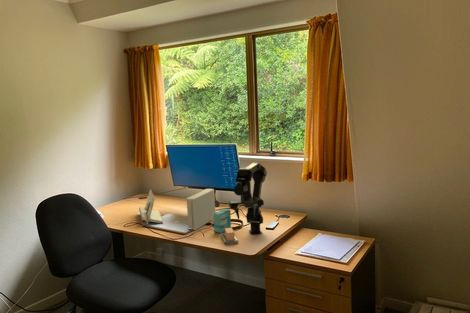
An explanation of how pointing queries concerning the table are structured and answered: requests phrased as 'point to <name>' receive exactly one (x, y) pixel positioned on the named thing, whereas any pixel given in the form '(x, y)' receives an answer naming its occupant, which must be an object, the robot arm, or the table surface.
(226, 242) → the grey rectangular frame
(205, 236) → the table surface
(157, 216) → the architectural model
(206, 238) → the table surface
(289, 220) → the table surface
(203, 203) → the game console
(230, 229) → the tall beige box
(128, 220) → the table surface
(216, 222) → the data package
